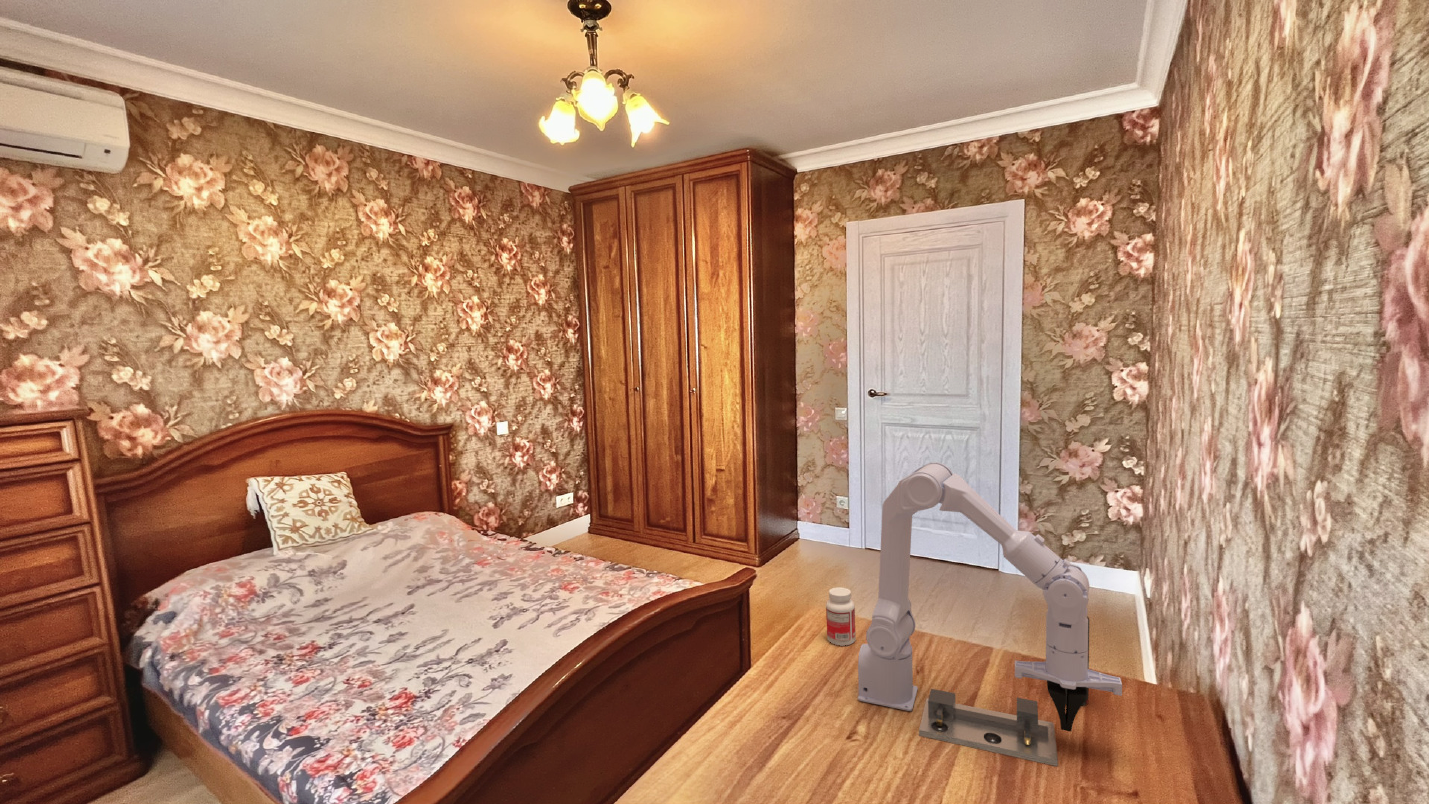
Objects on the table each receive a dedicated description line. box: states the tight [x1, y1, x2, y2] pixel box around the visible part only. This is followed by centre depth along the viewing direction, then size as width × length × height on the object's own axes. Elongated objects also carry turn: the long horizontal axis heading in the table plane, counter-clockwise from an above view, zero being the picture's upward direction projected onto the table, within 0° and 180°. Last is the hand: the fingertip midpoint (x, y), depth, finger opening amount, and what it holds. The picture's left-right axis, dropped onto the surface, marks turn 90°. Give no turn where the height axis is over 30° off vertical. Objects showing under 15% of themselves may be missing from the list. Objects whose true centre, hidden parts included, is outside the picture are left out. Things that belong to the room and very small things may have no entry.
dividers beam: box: [928, 688, 1048, 738], centre depth 102 cm, size 18×6×3 cm, turn 64°
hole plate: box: [918, 697, 1059, 767], centre depth 102 cm, size 20×10×1 cm, turn 64°
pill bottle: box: [825, 586, 857, 647], centre depth 135 cm, size 6×6×11 cm
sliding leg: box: [1016, 697, 1039, 745], centre depth 99 cm, size 3×6×4 cm, turn 154°
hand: (1065, 727), depth 98 cm, fingers closed
